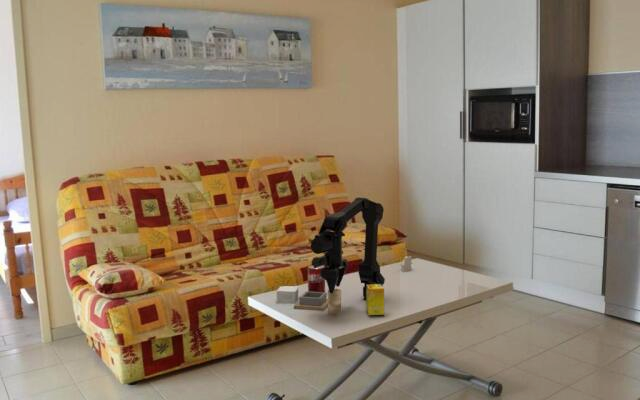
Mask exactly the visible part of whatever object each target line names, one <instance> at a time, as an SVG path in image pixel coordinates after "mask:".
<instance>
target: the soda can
mask: <svg viewBox="0 0 640 400" xmlns="http://www.w3.org/2000/svg"><path fill="white" fill-rule="evenodd" d="M323 268H324V265H322V266H319V267H317V268H314V266H313V265H308V267H307V291H309V292H323V293H326V280H325V279H324V278H322V277H321V276H320V271H321V270H322V269H323Z"/></svg>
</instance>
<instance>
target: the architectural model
mask: <svg viewBox="0 0 640 400" xmlns="http://www.w3.org/2000/svg"><path fill="white" fill-rule="evenodd" d="M412 265H413V262H412V255H409V256H406V255H405V256H404V258H403V260H402V261H401V262H400V264H398V266H400V272H401V271H402V272H401V273H406V271H407V272H410V271H412ZM409 270H410V271H409Z"/></svg>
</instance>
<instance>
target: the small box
mask: <svg viewBox="0 0 640 400" xmlns="http://www.w3.org/2000/svg"><path fill="white" fill-rule="evenodd" d="M298 300H299V286H297V285H296V286H295V285H294V286H292V285H287V286H285V285H280V286H279V287H278V289H277V290H276V303H277V302H278V303H277V304H296V303H297V302H298Z"/></svg>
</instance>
